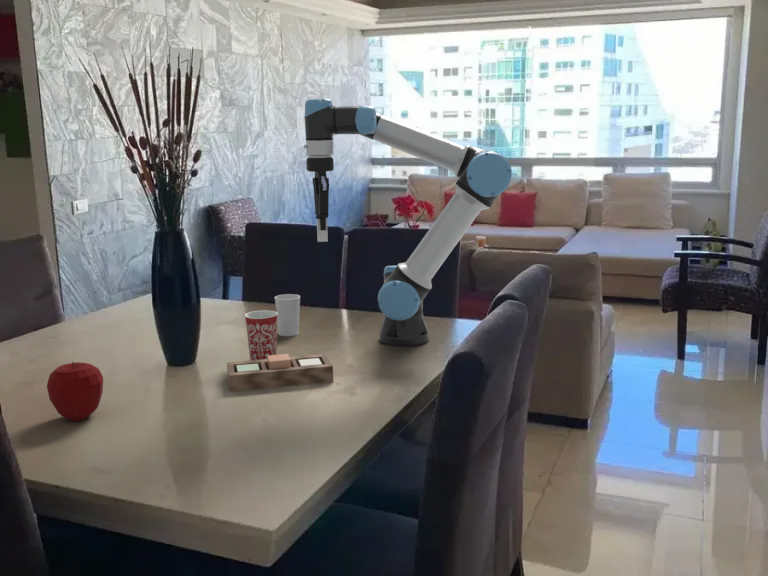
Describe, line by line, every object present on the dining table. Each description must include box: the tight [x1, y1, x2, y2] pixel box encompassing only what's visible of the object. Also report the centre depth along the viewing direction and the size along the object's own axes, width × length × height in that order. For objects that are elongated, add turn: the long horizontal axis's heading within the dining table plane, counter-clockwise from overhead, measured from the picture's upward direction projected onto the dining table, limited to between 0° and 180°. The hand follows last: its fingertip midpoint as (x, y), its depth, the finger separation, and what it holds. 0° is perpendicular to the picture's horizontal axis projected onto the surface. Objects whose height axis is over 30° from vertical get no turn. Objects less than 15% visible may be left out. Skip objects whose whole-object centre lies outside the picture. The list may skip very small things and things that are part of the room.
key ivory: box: [298, 358, 322, 367], centre depth 194 cm, size 5×5×4 cm
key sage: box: [237, 364, 259, 372], centre depth 190 cm, size 5×5×4 cm
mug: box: [244, 310, 278, 361], centre depth 210 cm, size 13×9×14 cm
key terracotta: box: [267, 353, 291, 369], centre depth 192 cm, size 5×5×4 cm
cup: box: [274, 293, 301, 337], centre depth 236 cm, size 8×8×12 cm
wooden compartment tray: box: [226, 353, 334, 393], centre depth 192 cm, size 26×11×4 cm, turn 104°
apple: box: [46, 361, 104, 422], centre depth 168 cm, size 12×12×13 cm
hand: (322, 241), depth 211 cm, fingers closed
